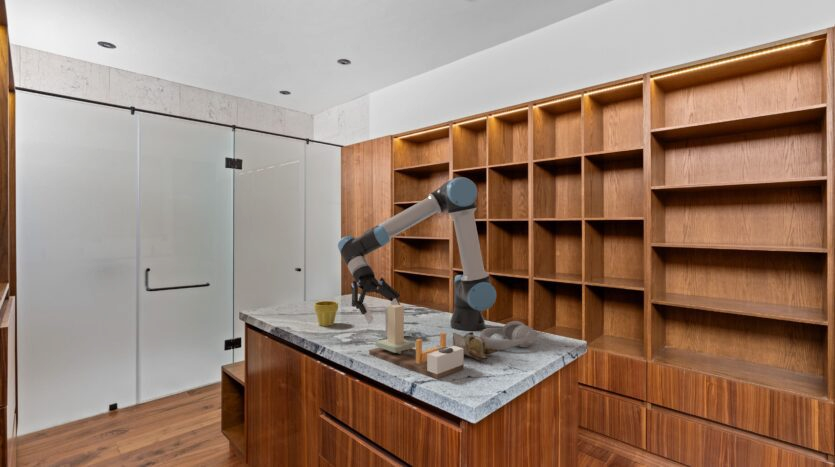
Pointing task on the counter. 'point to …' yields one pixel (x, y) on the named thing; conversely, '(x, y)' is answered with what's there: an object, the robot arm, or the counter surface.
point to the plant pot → (326, 312)
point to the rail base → (410, 361)
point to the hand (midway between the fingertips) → (386, 318)
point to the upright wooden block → (395, 331)
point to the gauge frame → (423, 355)
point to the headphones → (509, 336)
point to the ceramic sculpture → (472, 346)
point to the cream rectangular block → (444, 359)
